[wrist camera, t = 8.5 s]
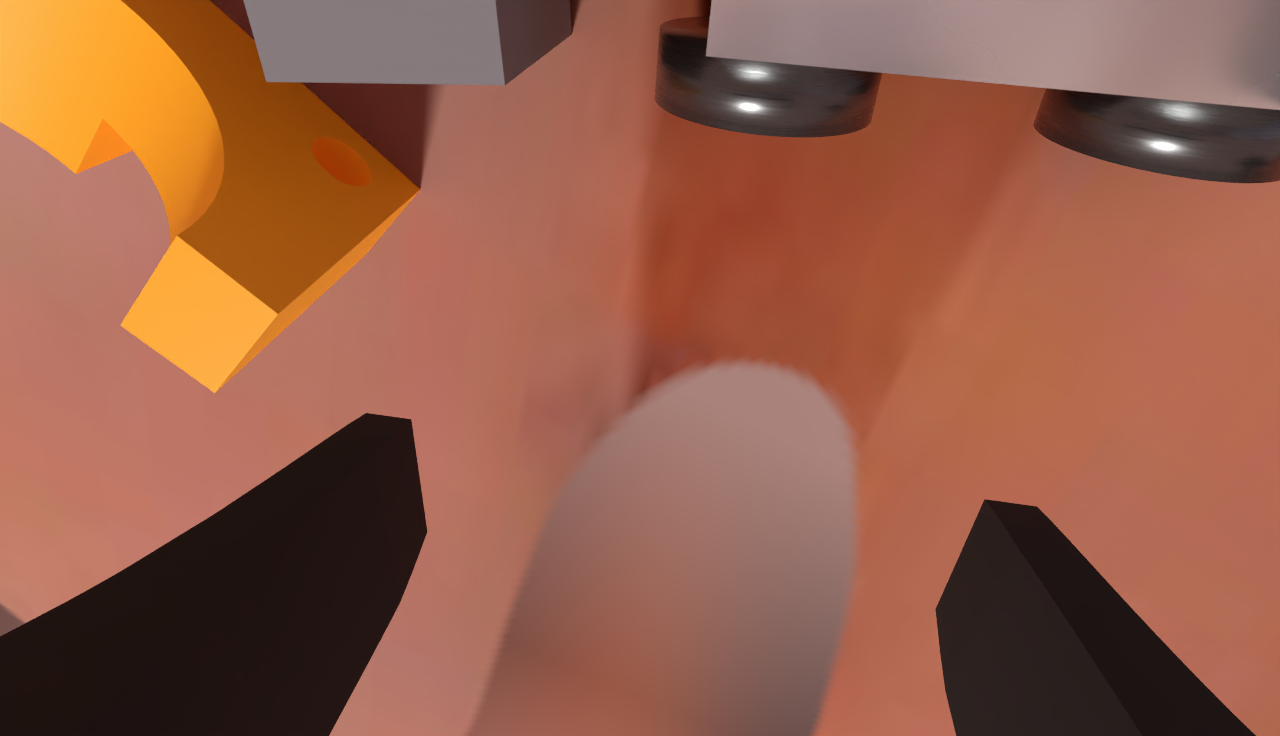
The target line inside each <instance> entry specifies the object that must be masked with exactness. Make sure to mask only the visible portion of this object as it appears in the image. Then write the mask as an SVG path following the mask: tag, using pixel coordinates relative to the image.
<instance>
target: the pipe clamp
mask: <svg viewBox="0 0 1280 736" xmlns="http://www.w3.org/2000/svg"><path fill="white" fill-rule="evenodd" d="M0 122H1V123H3V124H5V125H6V126H8V127H10V128H12V129H13V130H15V131H17V132H18V133H20V134H22V135H23V136H25V137H27V138H28V139H30V140H31V141H33V142H34V143H36V144H37V145H39V146H40V147H42V148H43V149H45V150H46V151H48V152H49V153H50V154H51V155H53V156H54V157H55V158H57V159H58V160H59V161H61V162H62V163H63V164H64V165H66V166H67V167H68V168H69V169H70V170H72V171H73V172H74V173H75V174H77V173H79V172H81V171H84V170H86V169H89V168H91V167H93V166H96V165H98V164H101V163H103V162H106V161H108V160H110V159H113V158H115V157H118V156H120V155H122V154H125V153H127V152H130V151H132V150H133V151H134V153H135V154H136V155H137V156H138V158H139V159H140V160H141V162H142V163H143V165H144V166H145V168H146V169H147V171H148V172H149V174H150V175H151V177H152V179H153V181H154V183H155V185H156V187H157V189H158V190H159V193H160V195H161V198H162V200H163V203H164V206H165V209H166V213H167V217H168V221H169V227H170V238H171V241H170V247H169V249H168V250H167V252H166V254H165V255H164V257H163V258H162V260H161V262H160V263H159V265H158V266H157V268H156V269H155V271H154V273H153V274H152V276H151V277H150V279H149V281H148V282H147V284H146V285H145V287H144V289H143V290H142V292H141V293H140V295H139V296H138V298H137V300H136V301H135V303H134V304H133V306H132V308H131V309H130V311H129V312H128V314H127V316H126V317H125V319H124V320H123V322H122V323H121V326H122V327H123V328H125V329H126V330H127V331H129V332H130V333H132V334H133V335H134V336H136V337H137V338H139V339H140V340H141V341H143V342H144V343H146V344H147V345H148V346H150V347H151V348H153V349H154V350H155V351H157V352H158V353H160V354H161V355H162V356H164V357H165V358H167V359H168V360H169V361H171V362H172V363H174V364H175V365H176V366H178V367H179V368H181V369H182V370H183V371H185V372H186V373H188V374H189V375H190V376H192V377H193V378H195V379H196V380H197V381H199V382H200V383H202V384H203V385H204V386H206V387H207V388H209V389H210V390H211V391H213V392H214V393H216V392H217V391H218V390H219V389H220V388H221V387H222V386H223V385H224V384H225V383H226V382H228V381H229V380H230V379H231V378H232V377H233V376H234V375H235V374H236V373H237V372H238V371H240V370H241V369H242V368H243V367H244V366H245V365H246V364H247V363H248V362H249V361H250V360H252V359H253V358H254V357H255V356H256V355H257V354H258V353H259V352H260V351H261V350H262V349H263V348H265V347H266V346H267V345H268V344H269V343H270V342H271V341H272V340H273V339H274V338H275V337H277V336H278V335H279V334H280V333H281V332H282V331H283V330H284V329H285V328H286V327H287V326H288V325H290V324H291V323H292V322H293V321H294V320H295V319H296V318H297V317H298V316H299V315H300V314H302V313H303V312H304V311H305V310H306V309H307V308H308V307H309V306H310V305H311V304H312V303H314V302H315V301H316V300H317V299H318V298H319V297H320V296H321V295H322V294H323V293H324V292H325V291H327V290H328V289H329V288H330V287H331V286H332V285H333V284H334V283H335V282H336V281H337V280H339V279H340V278H341V277H342V276H343V275H344V274H345V273H346V272H347V271H348V270H349V269H350V268H352V267H353V266H354V265H355V264H356V263H357V262H358V261H359V260H360V259H361V258H362V257H364V256H365V255H366V253H367V252H368V251H369V250H370V249H371V248H372V246H373V245H374V244H375V243H376V242H377V240H378V239H379V238H380V237H381V236H382V234H383V233H384V232H385V231H386V230H387V229H388V227H389V226H390V225H391V224H392V223H393V221H394V220H395V219H396V218H397V217H398V215H399V214H400V213H401V212H402V211H403V210H404V208H405V207H406V206H407V205H408V204H409V202H410V201H411V200H412V199H413V198H414V196H415V195H416V194H417V193H418V192H419V191H420V189H419V188H418V187H417V186H416V185H415V184H414V183H413V182H411V181H410V180H409V179H408V178H407V177H406V176H405V175H404V174H403V173H401V172H400V171H399V170H398V169H397V168H396V167H395V166H394V165H392V164H391V163H390V162H389V161H388V160H387V159H386V158H385V157H384V156H382V155H381V154H380V153H379V152H378V151H377V150H376V149H375V148H374V147H372V146H371V145H370V144H369V143H368V142H367V141H366V140H365V139H364V138H362V137H361V136H360V135H359V134H358V133H357V132H356V131H355V130H354V129H352V128H351V127H350V126H349V125H348V124H347V123H346V122H345V121H344V120H342V119H341V118H340V117H339V116H338V115H337V114H336V113H335V112H334V111H332V110H331V109H330V108H329V107H328V106H327V105H326V104H325V103H324V102H322V101H321V100H320V99H319V98H318V97H317V96H316V95H315V94H314V93H312V92H311V91H310V90H309V89H308V88H307V87H306V86H305V85H304V84H302V83H301V82H266V78H265V75H264V71H263V68H262V64H261V61H260V57H259V54H258V50H257V47H256V43H255V40H253V39H252V38H251V37H250V36H249V35H248V34H247V33H246V32H245V31H243V30H242V29H241V28H240V27H239V26H238V25H237V24H236V23H235V22H233V21H232V20H231V19H230V18H229V17H228V16H227V15H226V14H225V13H223V12H222V11H221V10H220V9H219V8H218V7H217V6H216V5H215V4H213V3H212V2H211V1H210V0H0Z"/></svg>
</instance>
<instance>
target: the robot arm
mask: <svg viewBox="0 0 1280 736" xmlns="http://www.w3.org/2000/svg"><path fill="white" fill-rule="evenodd" d="M426 534H427V527H426V520H425V513H424V506H423V499H422V492H421V485H420V478H419V471H418V464H417V457H416V450H415V443H414V436H413V429H412V422H411V419H405V418H398V417H390V416H383V415H376V414H369V413H366V414H364V415H362V416H361V417H359V418H358V419H356V420H354V421H353V422H351V423H350V424H348V425H347V426H345V427H344V428H342V429H341V430H339V431H338V432H336V433H335V434H333V435H332V436H330V437H329V438H327V439H326V440H324V441H323V442H321V443H320V444H318V445H317V446H316V447H314V448H313V449H311V450H310V451H308V452H307V453H305V454H304V455H302V456H301V457H299V458H298V459H296V460H295V461H294V462H292V463H291V464H289V465H288V466H286V467H285V468H283V469H282V470H280V471H279V472H277V473H276V474H274V475H273V476H271V477H270V478H268V479H267V480H265V481H264V482H262V483H261V484H259V485H258V486H256V487H255V488H253V489H252V490H250V491H249V492H247V493H246V494H244V495H243V496H241V497H240V498H238V499H237V500H235V501H234V502H232V503H231V504H229V505H228V506H226V507H225V508H223V509H222V510H220V511H219V512H217V513H215V514H214V515H212V516H211V517H209V518H207V519H206V520H204V521H203V522H201V523H199V524H198V525H196V526H194V527H193V528H191V529H189V530H188V531H186V532H185V533H183V534H181V535H180V536H178V537H176V538H175V539H173V540H171V541H170V542H168V543H167V544H165V545H163V546H162V547H160V548H158V549H157V550H155V551H153V552H152V553H150V554H149V555H147V556H145V557H144V558H142V559H140V560H139V561H137V562H135V563H134V564H132V565H131V566H129V567H127V568H126V569H124V570H122V571H121V572H119V573H117V574H115V575H114V576H112V577H110V578H108V579H107V580H105V581H103V582H101V583H100V584H98V585H96V586H94V587H92V588H91V589H89V590H87V591H85V592H83V593H82V594H80V595H78V596H76V597H74V598H73V599H71V600H69V601H67V602H65V603H63V604H61V605H60V606H58V607H56V608H54V609H52V610H50V611H48V612H46V613H44V614H42V615H40V616H39V617H37V618H35V619H33V620H31V621H29V622H27V623H25V624H23V625H21V626H20V627H18V628H16V629H14V630H12V631H10V632H8V633H6V634H4V635H2V636H0V736H329V735H330V733H331V731H332V729H333V727H334V725H335V724H336V722H337V720H338V718H339V716H340V714H341V712H342V711H343V709H344V707H345V705H346V703H347V701H348V699H349V698H350V696H351V694H352V692H353V690H354V688H355V686H356V685H357V683H358V681H359V679H360V677H361V675H362V673H363V672H364V670H365V668H366V666H367V664H368V662H369V660H370V659H371V657H372V655H373V653H374V651H375V649H376V647H377V645H378V644H379V642H380V640H381V638H382V636H383V634H384V632H385V630H386V628H387V627H388V625H389V623H390V621H391V619H392V617H393V615H394V613H395V611H396V609H397V607H398V605H399V603H400V601H401V599H402V596H403V594H404V591H405V589H406V586H407V584H408V581H409V579H410V576H411V574H412V571H413V569H414V566H415V563H416V561H417V558H418V555H419V553H420V550H421V547H422V545H423V542H424V539H425V536H426ZM936 617H937V626H938V635H939V645H940V654H941V661H942V669H943V676H944V683H945V690H946V695H947V699H948V703H949V707H950V712H951V716H952V720H953V724H954V728H955V732H956V736H1256V735H1255V734H1254V733H1253V732H1251V731H1250V730H1249V729H1248V728H1247V727H1246V726H1245V725H1244V724H1243V723H1242V722H1241V721H1240V720H1239V719H1238V718H1237V717H1236V716H1235V715H1234V714H1233V713H1232V712H1231V711H1230V710H1229V709H1228V708H1227V707H1226V706H1225V705H1224V704H1223V703H1222V702H1221V701H1220V700H1219V699H1218V698H1217V697H1216V696H1215V695H1214V694H1213V693H1212V692H1211V691H1210V690H1209V689H1208V688H1207V687H1206V686H1205V685H1204V684H1203V683H1202V682H1201V681H1200V680H1199V679H1198V678H1197V677H1196V676H1195V675H1194V674H1193V673H1192V672H1191V671H1190V670H1189V668H1188V667H1187V666H1186V665H1185V664H1184V663H1183V662H1182V661H1181V660H1180V659H1179V658H1178V657H1177V656H1176V655H1175V654H1174V653H1173V652H1172V651H1171V650H1170V649H1169V648H1168V647H1167V646H1166V644H1165V643H1164V642H1163V641H1162V640H1161V639H1160V638H1159V637H1158V636H1157V635H1156V634H1155V633H1154V632H1153V631H1152V630H1151V629H1150V628H1149V626H1148V625H1147V624H1146V623H1145V622H1144V621H1143V620H1142V619H1141V618H1140V617H1139V616H1138V615H1137V614H1136V613H1135V611H1134V610H1133V609H1132V608H1131V607H1130V606H1129V605H1128V604H1127V603H1126V602H1125V601H1124V600H1123V598H1122V597H1121V596H1120V595H1119V594H1118V593H1117V592H1116V591H1115V590H1114V589H1113V588H1112V587H1111V585H1110V584H1109V583H1108V582H1107V581H1106V580H1105V579H1104V578H1103V577H1102V576H1101V575H1100V573H1099V572H1098V571H1097V570H1096V569H1095V568H1094V567H1093V566H1092V565H1091V564H1090V563H1089V561H1088V560H1087V559H1086V558H1085V557H1084V556H1083V555H1082V554H1081V553H1080V552H1079V551H1078V549H1077V548H1076V547H1075V546H1074V545H1073V544H1072V543H1071V542H1070V541H1069V540H1068V539H1067V537H1066V536H1065V535H1064V534H1063V533H1062V532H1061V531H1060V530H1059V529H1058V528H1057V527H1056V526H1055V525H1054V524H1053V523H1052V522H1051V520H1050V519H1049V518H1048V517H1047V516H1046V515H1045V514H1044V513H1043V512H1042V511H1041V510H1040V509H1039V508H1038V507H1035V506H1028V505H1021V504H1014V503H1007V502H1000V501H992V500H984V502H983V504H982V506H981V509H980V511H979V513H978V515H977V518H976V520H975V522H974V524H973V527H972V529H971V531H970V533H969V536H968V538H967V540H966V542H965V545H964V547H963V549H962V551H961V554H960V556H959V558H958V560H957V563H956V565H955V567H954V569H953V572H952V574H951V576H950V578H949V580H948V583H947V585H946V587H945V589H944V592H943V594H942V596H941V598H940V601H939V603H938V605H937V607H936Z"/></svg>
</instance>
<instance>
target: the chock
mask: <svg viewBox="0 0 1280 736" xmlns="http://www.w3.org/2000/svg"><path fill="white" fill-rule="evenodd" d="M243 1H244V4H245V8H246V11H247V15H248V18H249V22H250V25H251V29H252V32H253V36H254V40H255V43H256V47H257V50H258V54H259V57H260V61H261V64H262V68H263V71H264V75H265V78H266V82H311V83H381V84H452V85H506V84H507V83H509V82H510V81H511V80H512V79H514V78H515V77H516V76H518V75H519V74H520V73H522V72H523V71H524V70H526V69H527V68H528V67H529V66H531V65H532V64H533V63H535V62H536V61H537V60H539V59H540V58H541V57H543V56H544V55H545V54H546V53H548V52H549V51H550V50H552V49H553V48H554V47H556V46H557V45H558V44H560V43H561V42H562V41H564V40H565V39H566V38H567V37H569V36H570V35H571V34H572V28H571V12H570V0H243Z"/></svg>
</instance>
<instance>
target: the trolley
mask: <svg viewBox="0 0 1280 736" xmlns="http://www.w3.org/2000/svg"><path fill="white" fill-rule="evenodd" d="M882 73H890V74H900V75H911V76H922V77H932V78H943V79H954V80H964V81H975V82H986V83H996V84H1007V85H1018V86H1028V87H1039V88H1046V91H1045V93H1044V96H1043V99H1042V102H1041V105H1040V107H1039V110H1038V113H1037V116H1036V119H1035V121H1034V127H1035V129H1036V130H1037V131H1038V132H1039V133H1040V134H1041V135H1043V136H1044V137H1046V138H1048V139H1049V140H1051V141H1053V142H1055V143H1057V144H1059V145H1061V146H1064V147H1066V148H1069V149H1071V150H1074V151H1077V152H1080V153H1082V154H1085V155H1088V156H1092V157H1095V158H1098V159H1101V160H1105V161H1108V162H1112V163H1116V164H1120V165H1124V166H1128V167H1132V168H1136V169H1141V170H1146V171H1150V172H1155V173H1161V174H1166V175H1172V176H1178V177H1185V178H1191V179H1199V180H1208V181H1218V182H1231V183H1264V182H1273V181H1279V180H1280V0H712V2H711V12H710V16H709V17H690V18H681V19H675V20H671V21H667V22H665V23H663V24H662V25H660V32H659V46H658V60H657V74H656V88H655V100H656V102H657V104H658V105H659V106H660V107H661V108H663V109H664V110H666V111H668V112H669V113H671V114H673V115H676V116H678V117H680V118H683V119H686V120H689V121H692V122H695V123H699V124H702V125H706V126H710V127H714V128H719V129H724V130H729V131H735V132H742V133H749V134H757V135H767V136H780V137H825V136H835V135H842V134H847V133H852V132H855V131H858V130H861V129H863V128H865V127H867V126H868V125H869V124H870V122H871V119H872V114H873V110H874V106H875V101H876V97H877V93H878V89H879V84H880V80H881V76H882Z"/></svg>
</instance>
